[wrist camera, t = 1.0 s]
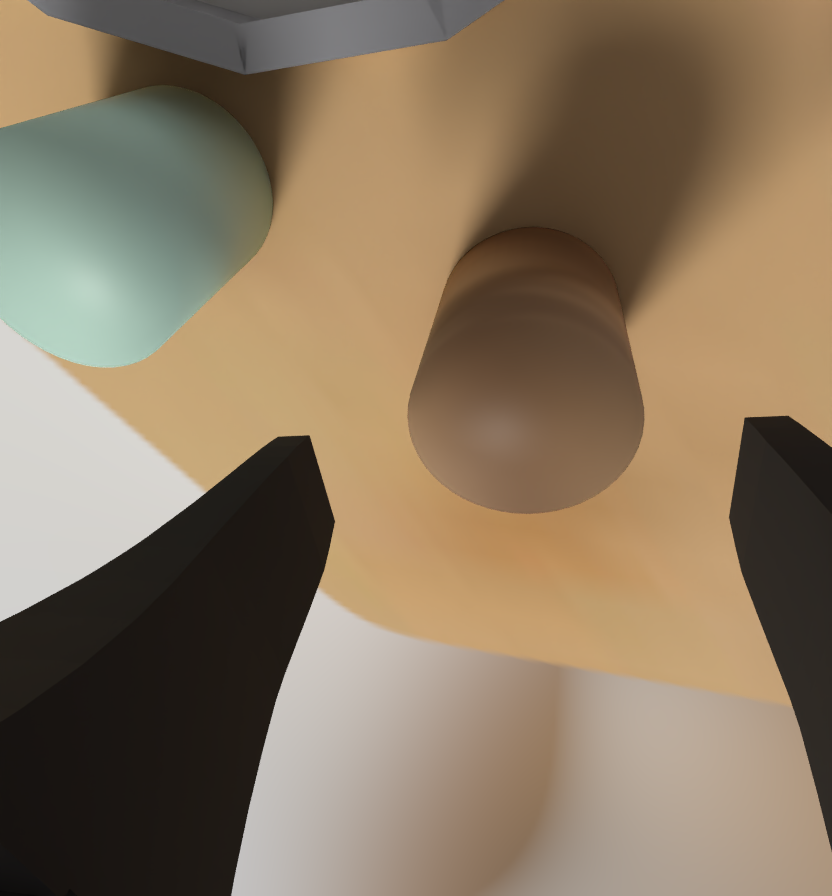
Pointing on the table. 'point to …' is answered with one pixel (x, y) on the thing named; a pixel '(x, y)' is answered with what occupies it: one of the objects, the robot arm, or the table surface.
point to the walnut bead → (527, 377)
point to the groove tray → (272, 27)
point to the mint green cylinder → (125, 221)
